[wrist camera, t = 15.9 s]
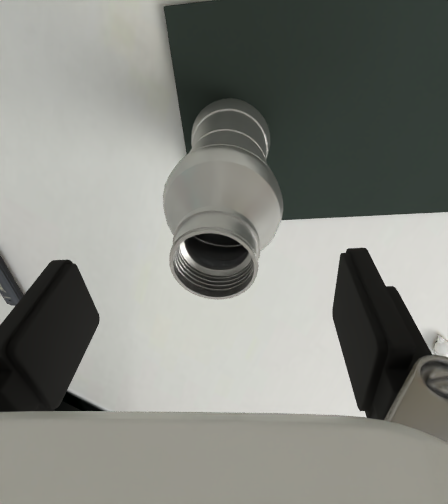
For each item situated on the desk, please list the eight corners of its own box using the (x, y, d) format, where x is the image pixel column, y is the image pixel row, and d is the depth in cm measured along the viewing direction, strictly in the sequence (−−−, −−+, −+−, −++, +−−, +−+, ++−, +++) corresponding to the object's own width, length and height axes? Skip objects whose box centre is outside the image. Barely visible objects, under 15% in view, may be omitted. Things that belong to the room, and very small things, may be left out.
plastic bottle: (220, 75, 27) (178, 156, 11) (284, 123, 29) (330, 254, 13) (182, 140, 30) (106, 278, 14) (242, 180, 32) (236, 341, 16)
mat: (165, 6, 25) (163, 6, 25) (613, -47, 22) (622, -48, 22) (198, 221, 36) (197, 224, 36) (502, 206, 33) (506, 209, 32)
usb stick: (-25, 241, 39) (-34, 248, 38) (-5, 240, 39) (-13, 248, 38) (11, 299, 45) (4, 307, 44) (29, 299, 45) (23, 307, 43)
